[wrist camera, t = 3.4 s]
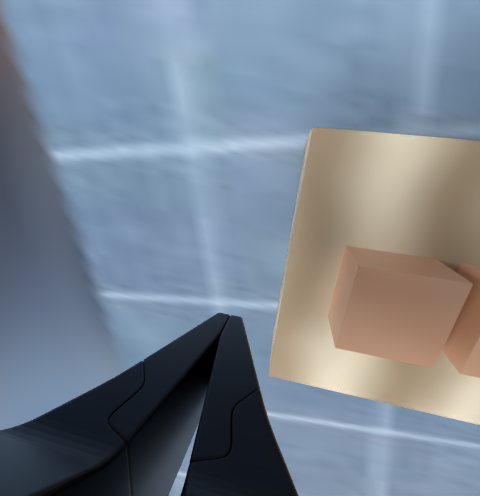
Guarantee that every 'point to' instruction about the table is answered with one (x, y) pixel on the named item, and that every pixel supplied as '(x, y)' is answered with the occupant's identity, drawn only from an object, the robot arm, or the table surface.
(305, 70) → the table surface
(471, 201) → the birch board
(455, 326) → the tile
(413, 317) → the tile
